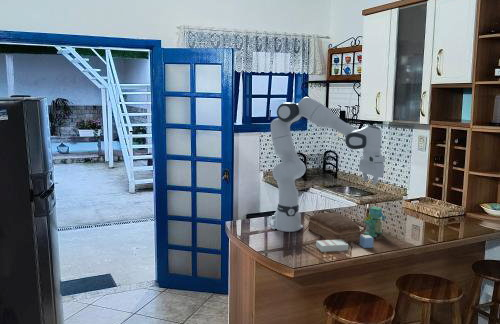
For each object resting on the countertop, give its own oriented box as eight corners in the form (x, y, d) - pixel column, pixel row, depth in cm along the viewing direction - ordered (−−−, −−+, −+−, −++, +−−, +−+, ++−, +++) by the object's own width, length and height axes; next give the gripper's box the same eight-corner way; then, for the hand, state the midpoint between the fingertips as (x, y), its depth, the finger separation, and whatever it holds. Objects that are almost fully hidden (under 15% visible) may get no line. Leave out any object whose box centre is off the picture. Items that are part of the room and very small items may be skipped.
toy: (369, 230, 257) (370, 205, 255) (386, 234, 251) (388, 208, 249) (362, 234, 249) (363, 208, 247) (379, 238, 243) (381, 211, 241)
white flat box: (315, 246, 228) (316, 240, 227) (341, 244, 231) (341, 239, 230) (321, 251, 220) (322, 245, 220) (348, 250, 223) (348, 244, 223)
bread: (330, 226, 265) (331, 207, 263) (362, 241, 238) (363, 220, 236) (306, 229, 258) (306, 209, 256) (335, 245, 231) (337, 223, 229)
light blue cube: (359, 244, 232) (360, 235, 231) (368, 244, 233) (368, 234, 232) (363, 248, 227) (364, 238, 226) (372, 247, 228) (373, 237, 227)
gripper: (356, 154, 243) (355, 179, 245) (375, 159, 223) (373, 186, 225) (367, 154, 244) (366, 178, 246) (386, 159, 225) (385, 186, 227)
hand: (369, 182), depth 236 cm, fingers open, 8 cm apart
